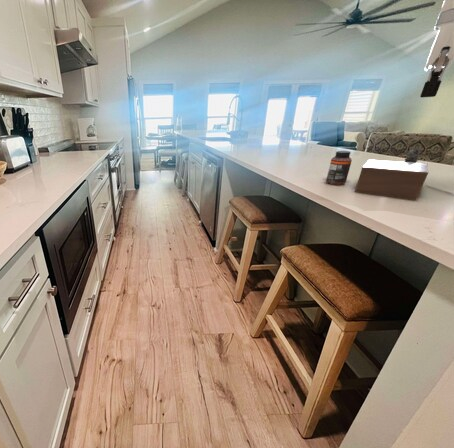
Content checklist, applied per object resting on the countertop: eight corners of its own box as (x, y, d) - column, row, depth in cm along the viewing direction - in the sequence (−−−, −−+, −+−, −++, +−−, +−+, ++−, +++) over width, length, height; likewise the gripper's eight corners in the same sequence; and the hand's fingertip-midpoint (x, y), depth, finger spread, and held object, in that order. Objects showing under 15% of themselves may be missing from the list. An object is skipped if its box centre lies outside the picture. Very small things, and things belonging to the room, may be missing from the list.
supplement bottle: (339, 181, 91) (347, 150, 86) (349, 185, 85) (358, 152, 80) (322, 181, 91) (329, 150, 86) (331, 185, 86) (339, 152, 81)
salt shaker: (412, 178, 89) (425, 145, 84) (417, 182, 85) (431, 147, 80) (391, 177, 92) (403, 144, 87) (394, 181, 88) (407, 146, 83)
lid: (427, 174, 65) (428, 172, 65) (361, 168, 75) (362, 166, 75) (427, 165, 75) (428, 163, 75) (368, 161, 84) (369, 159, 84)
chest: (416, 200, 69) (427, 174, 66) (354, 191, 78) (361, 168, 75) (417, 189, 78) (427, 165, 75) (361, 182, 87) (368, 161, 84)
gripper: (435, 28, 71) (410, 98, 79) (437, 17, 62) (408, 97, 69) (475, 21, 66) (444, 96, 74) (484, 7, 57) (448, 95, 64)
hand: (427, 96), depth 71 cm, fingers closed
